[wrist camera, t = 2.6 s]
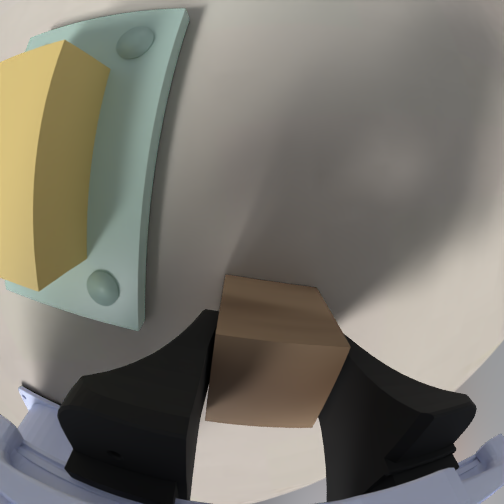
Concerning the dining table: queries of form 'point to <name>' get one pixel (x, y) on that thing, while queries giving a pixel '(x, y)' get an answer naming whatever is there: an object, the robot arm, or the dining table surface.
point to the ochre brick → (46, 160)
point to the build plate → (119, 162)
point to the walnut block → (273, 355)
